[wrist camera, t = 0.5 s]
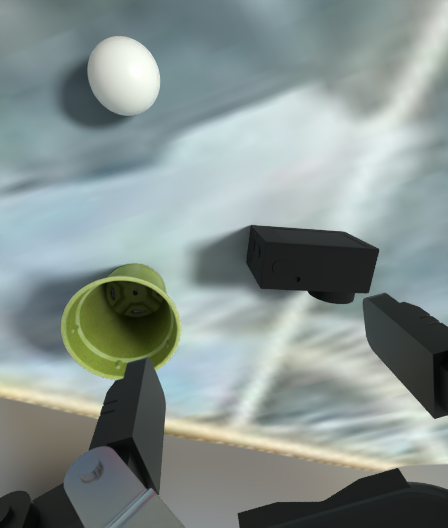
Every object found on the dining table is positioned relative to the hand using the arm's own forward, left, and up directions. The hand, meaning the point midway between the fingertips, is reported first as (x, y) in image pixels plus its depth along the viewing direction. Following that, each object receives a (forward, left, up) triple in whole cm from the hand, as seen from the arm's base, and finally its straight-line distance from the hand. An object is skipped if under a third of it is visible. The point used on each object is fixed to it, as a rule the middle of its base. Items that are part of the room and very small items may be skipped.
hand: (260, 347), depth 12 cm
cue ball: (-8, -11, -20) cm, 25 cm away
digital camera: (0, +10, -23) cm, 25 cm away
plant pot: (+10, -4, -23) cm, 26 cm away
